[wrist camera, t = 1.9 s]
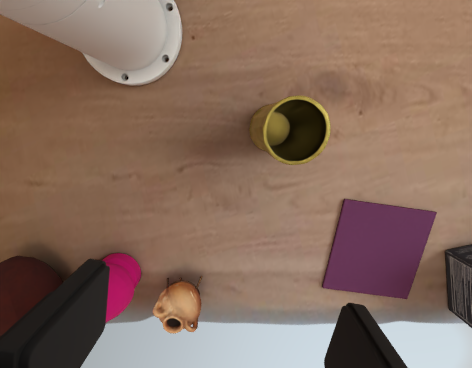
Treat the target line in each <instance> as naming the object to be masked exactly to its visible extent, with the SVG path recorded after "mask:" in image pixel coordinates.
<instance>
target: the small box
mask: <svg viewBox="0 0 472 368" xmlns="http://www.w3.org/2000/svg"><path fill="white" fill-rule="evenodd" d="M445 255H446V271H447V286H448V301H449V310H450V311H451V312H453V313H454V314H455V315H456V316H458V317H459V318H460V319H461V320H463V321H464V322H465V323H466V324H468V325H469V326H470V327H471V328H472V245H467V246H463V247H458V248H453V249H448V250H446V251H445Z"/></svg>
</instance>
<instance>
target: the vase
mask: <svg viewBox="0 0 472 368" xmlns="http://www.w3.org/2000/svg"><path fill="white" fill-rule="evenodd" d="M249 131H250V137H251V139H252V141H253V142H254V144H255V145H256V146H257V147H258V148H259V149H261V150H264V151H267V152H268V153H269V154H270V155H271V156H272V157H273V158H274V159H276V160H278V161H280V162H282V163H285V164H289V165H297V164H304V163H307V162H309V161H311V160H312V159H314V158H315V157H317V156H318V155H319V154H320V153H321V152H322V151H323V149H324V148H325V146H326V144H327V142H328V139H329V136H330V120H329V116H328V114H327V112H326V111H325V109H324V108H323V107H322V106H321V105H320V104H319V103H318V102H317V101H315V100H313V99H311V98H309V97H306V96H290V97H287V98H285V99H283V100H281V101H279V102H277V103H274V104H270V105H266V106H264V107H262V108H260V109H259V110H258V111H257V112H256V113H255V114H254V115H253V117H252V119H251V122H250V127H249Z"/></svg>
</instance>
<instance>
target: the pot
mask: <svg viewBox="0 0 472 368" xmlns="http://www.w3.org/2000/svg"><path fill="white" fill-rule="evenodd" d="M181 279H182V278H180V281H176V282H174V283H172V284H171V285H170V286H169V285H168V284H169V283H168V282H169V278H167V288H166V289H165V290H164V291H163V292H162V293H161V294H160V296H159V298H158V301H157V302H156V305H155V306H154V309H153V314H154V316H156V317H158V318H159V319H160V321H161V322H162V323H163V327H164V329H165V330H166V331H167V332H169V333H178V332H180V331H181V330H182V329H184V328H185V329H186V330H187V331H189V332H194V331H195V330H196V329H197V325H198V316H199V314H200V311H201V299H200V293H199V290H198V286H199V284H200V281H201V279H202V276H201V277H200V280H199V282H198V284H197V286H195V285H194V284H192V283H191V282H189V281H182V280H181ZM192 324H193V327H191V325H192Z"/></svg>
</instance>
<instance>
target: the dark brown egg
mask: <svg viewBox="0 0 472 368" xmlns="http://www.w3.org/2000/svg"><path fill="white" fill-rule="evenodd" d="M62 283H63V281H62V280H61V279H60V278H59V276H58V275H57V274H56V272H55V271H54V270H53V269H52V268H51V267H50V266H48V265H47V264H46V263H44V262H42V261H40V260H37V259H35V258H32V257H22V256H15V257H12V258H9V259H7V260H5V261H3V262H1V263H0V337H1V336H2V335H3V334H4V333H5V332H6V331H7V330H8V329H9V328H10V327H12V326H13V325H14V324H15V323H16V322H17V321H18V320H19V319H20V318H22V317H23V316H24V315H25V314H26V313H27V312H28V311H29V310H30V309H31V308H33V307H34V306H35V305H36V304H37V303H38V302H39V301H40V300H41V299H42V298H44V297H45V296H46V295H47V294H48V293H50V292H52V291H55V290H56V289H57V288H58V287H59V286H60V285H61V284H62Z"/></svg>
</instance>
